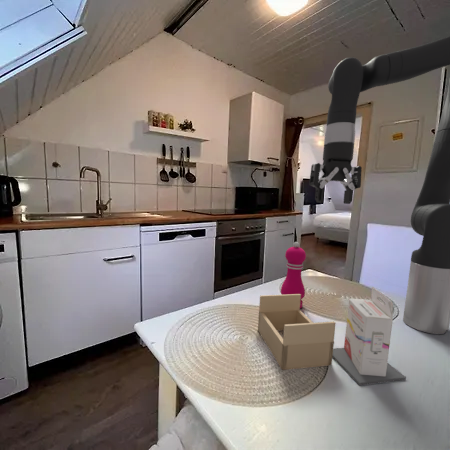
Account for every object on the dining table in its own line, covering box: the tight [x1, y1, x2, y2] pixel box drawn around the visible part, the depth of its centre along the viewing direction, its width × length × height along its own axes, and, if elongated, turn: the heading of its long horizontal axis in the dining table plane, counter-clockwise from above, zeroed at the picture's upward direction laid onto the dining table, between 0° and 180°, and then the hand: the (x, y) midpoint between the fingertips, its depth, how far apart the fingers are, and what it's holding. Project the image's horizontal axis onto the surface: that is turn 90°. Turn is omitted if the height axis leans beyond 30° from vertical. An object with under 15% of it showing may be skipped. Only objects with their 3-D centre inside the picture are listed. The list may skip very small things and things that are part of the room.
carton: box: [257, 294, 336, 371], centre depth 56 cm, size 11×15×9 cm
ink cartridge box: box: [343, 286, 394, 377], centre depth 50 cm, size 9×5×15 cm, turn 175°
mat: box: [332, 347, 407, 386], centre depth 51 cm, size 10×10×1 cm
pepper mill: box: [280, 241, 307, 310], centre depth 77 cm, size 7×7×20 cm
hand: (333, 203), depth 70 cm, fingers open, 8 cm apart
